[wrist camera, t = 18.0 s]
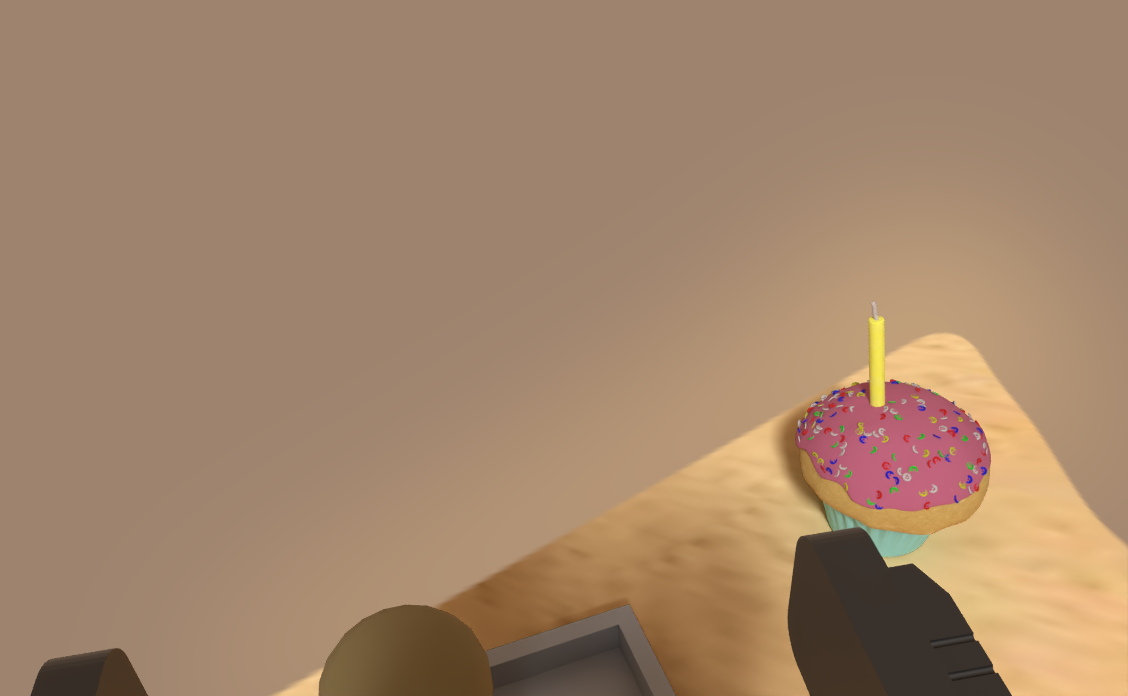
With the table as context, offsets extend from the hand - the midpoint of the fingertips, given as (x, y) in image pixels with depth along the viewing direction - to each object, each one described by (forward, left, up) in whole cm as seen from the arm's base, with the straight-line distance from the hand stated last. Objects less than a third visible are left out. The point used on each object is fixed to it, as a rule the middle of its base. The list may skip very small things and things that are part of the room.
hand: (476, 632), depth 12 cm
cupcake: (+23, +19, -26) cm, 40 cm away
